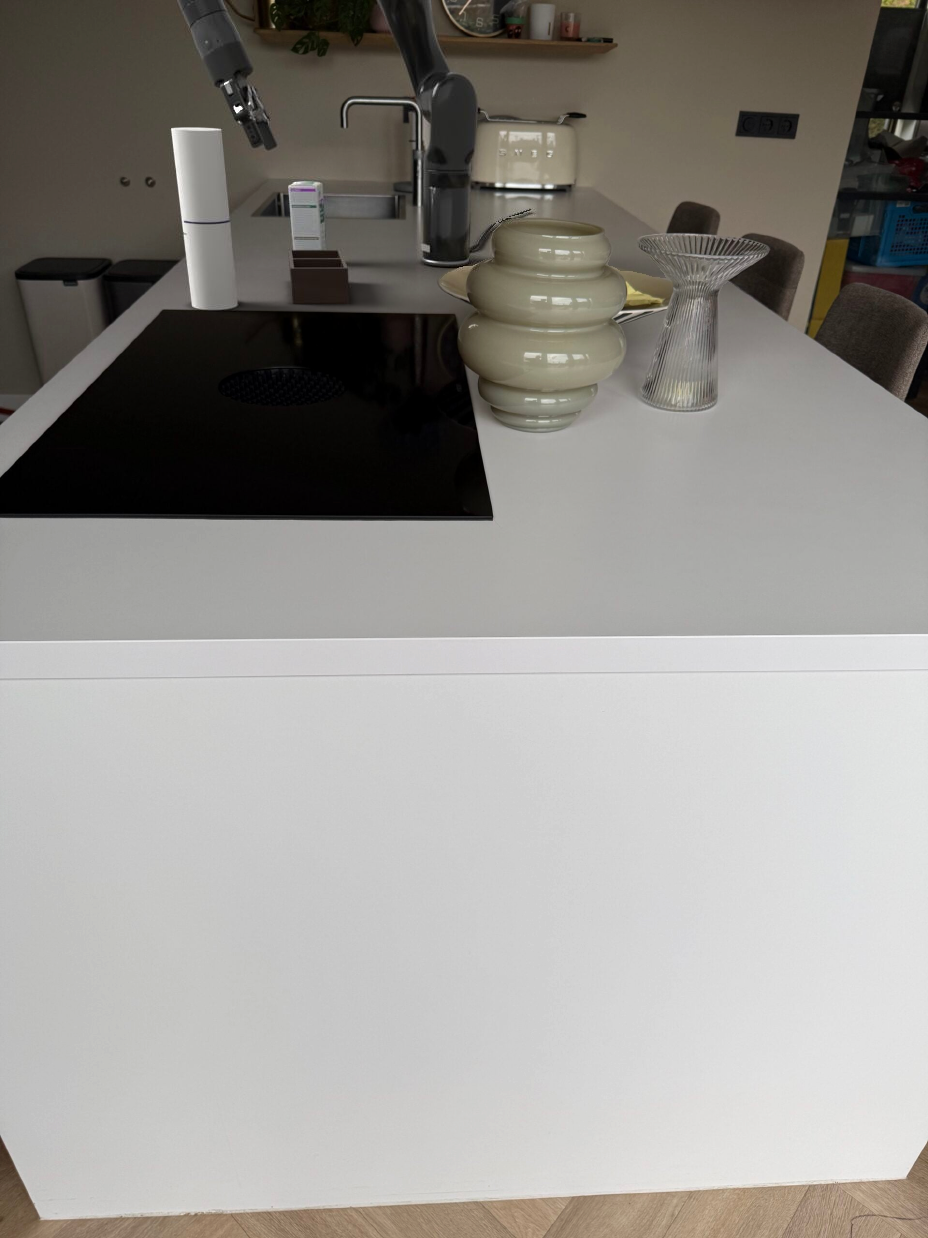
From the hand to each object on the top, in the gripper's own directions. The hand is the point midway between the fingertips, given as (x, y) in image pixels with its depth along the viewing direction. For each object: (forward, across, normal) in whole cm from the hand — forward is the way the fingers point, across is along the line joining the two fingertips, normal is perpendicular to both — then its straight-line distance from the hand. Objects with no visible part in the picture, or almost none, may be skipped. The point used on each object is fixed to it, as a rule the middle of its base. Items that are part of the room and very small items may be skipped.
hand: (265, 147), depth 163 cm
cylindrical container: (+21, -28, +12) cm, 37 cm away
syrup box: (+20, +11, +4) cm, 23 cm away
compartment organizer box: (+26, -15, -2) cm, 30 cm away
